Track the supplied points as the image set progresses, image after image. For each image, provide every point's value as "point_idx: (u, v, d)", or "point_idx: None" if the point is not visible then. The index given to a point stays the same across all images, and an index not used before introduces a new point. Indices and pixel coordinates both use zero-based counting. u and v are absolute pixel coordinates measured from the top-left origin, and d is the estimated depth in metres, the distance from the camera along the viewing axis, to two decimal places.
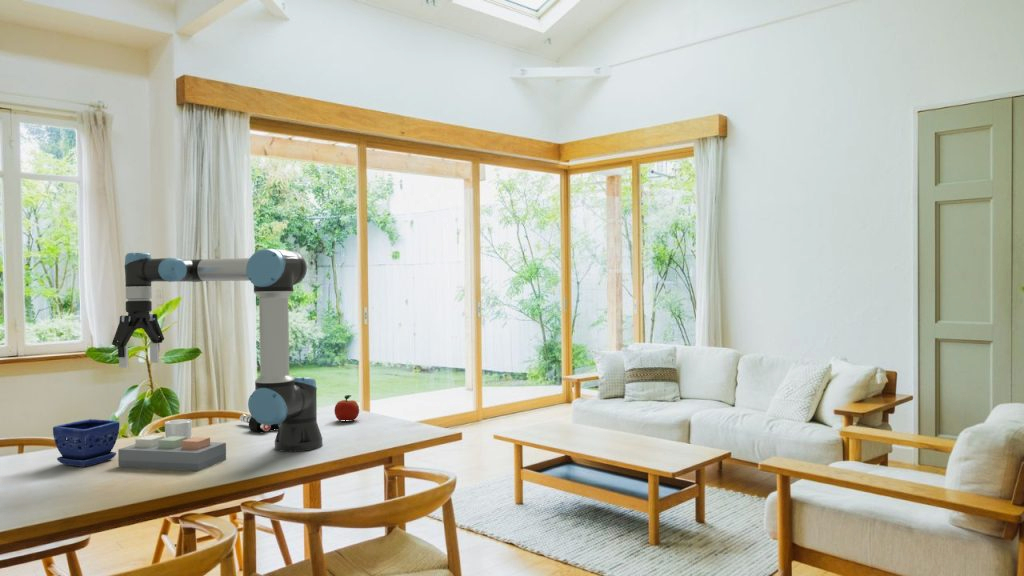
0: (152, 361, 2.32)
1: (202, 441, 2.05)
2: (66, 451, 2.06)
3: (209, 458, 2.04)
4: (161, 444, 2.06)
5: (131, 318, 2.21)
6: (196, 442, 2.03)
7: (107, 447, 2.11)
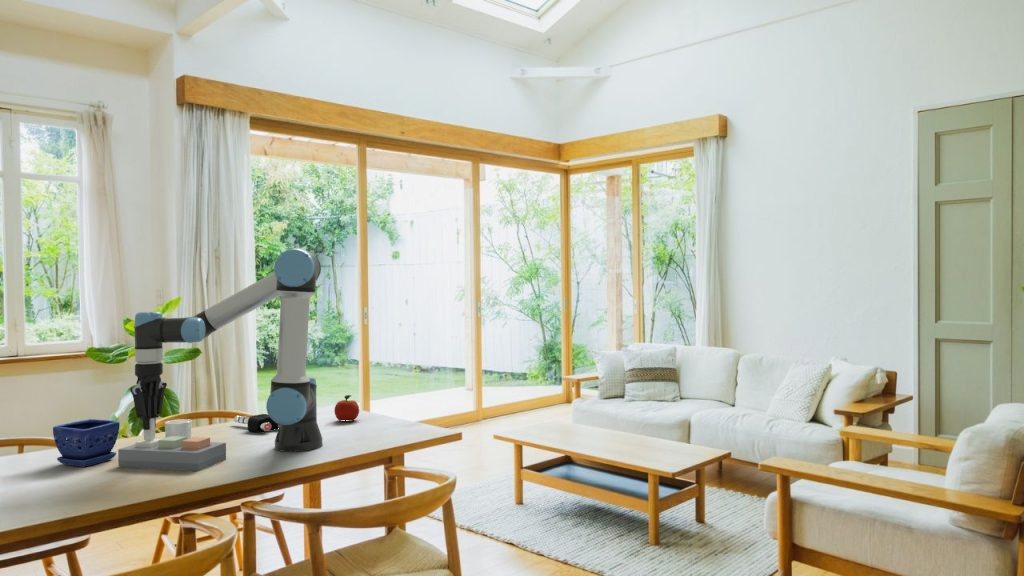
0: None
1: (202, 441, 2.05)
2: (66, 451, 2.06)
3: (209, 458, 2.04)
4: (161, 444, 2.06)
5: (141, 385, 2.06)
6: (196, 442, 2.03)
7: (107, 447, 2.11)
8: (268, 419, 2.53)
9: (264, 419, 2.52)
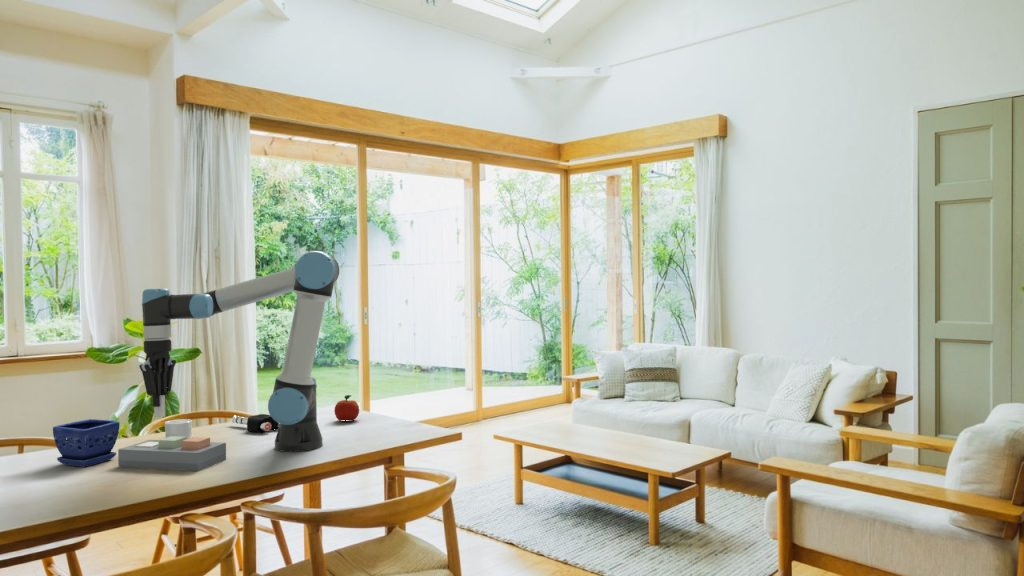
0: None
1: (202, 441, 2.05)
2: (66, 451, 2.06)
3: (209, 458, 2.04)
4: (161, 444, 2.06)
5: (151, 362, 2.05)
6: (196, 442, 2.03)
7: (107, 447, 2.11)
8: (268, 419, 2.53)
9: (264, 419, 2.51)
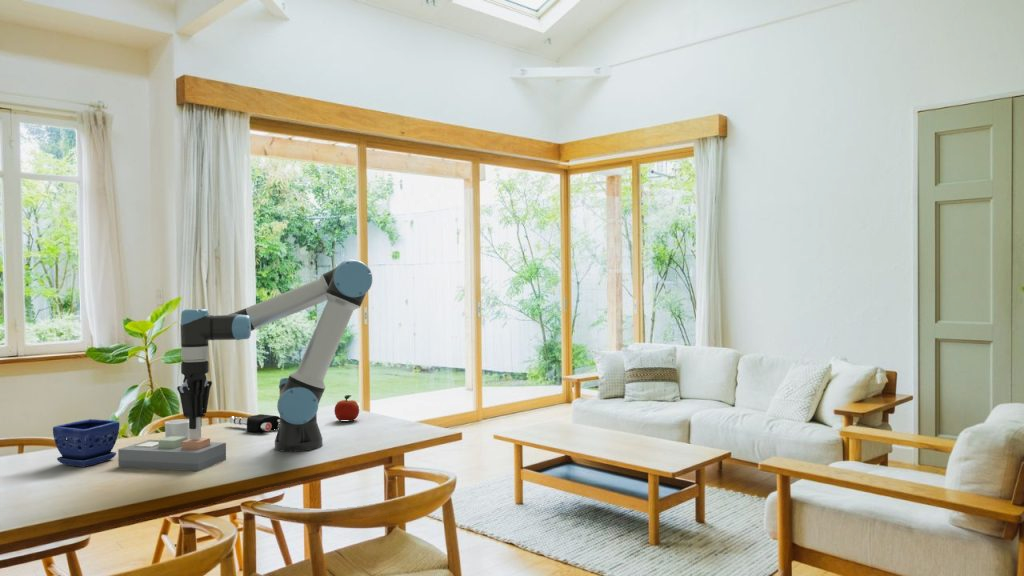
0: None
1: (202, 442, 2.05)
2: (66, 451, 2.06)
3: (209, 458, 2.04)
4: (161, 444, 2.06)
5: (188, 383, 2.03)
6: (196, 443, 2.03)
7: (107, 447, 2.11)
8: (268, 419, 2.53)
9: (264, 419, 2.51)
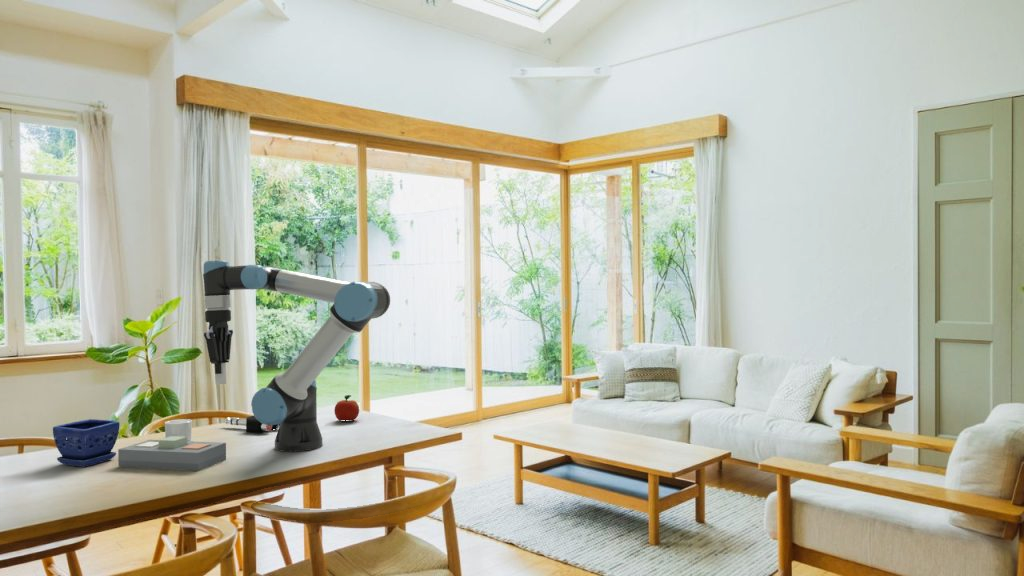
0: None
1: None
2: (66, 451, 2.06)
3: (209, 458, 2.04)
4: (161, 444, 2.06)
5: (214, 330, 2.14)
6: (196, 449, 2.03)
7: (107, 447, 2.11)
8: None
9: None
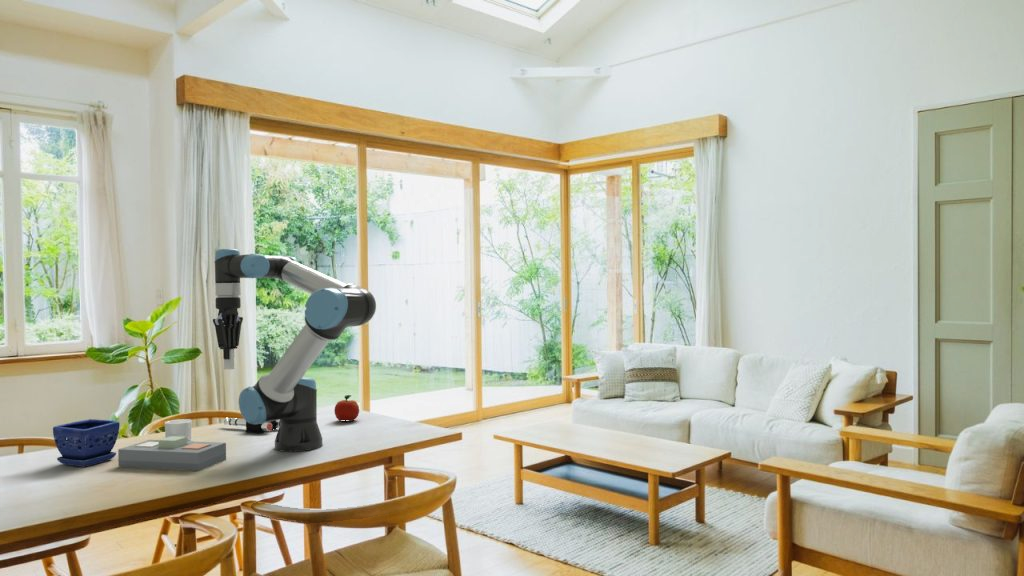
0: None
1: None
2: (66, 451, 2.06)
3: (209, 458, 2.04)
4: (161, 444, 2.06)
5: (223, 317, 2.20)
6: (196, 449, 2.03)
7: (107, 447, 2.11)
8: None
9: None
